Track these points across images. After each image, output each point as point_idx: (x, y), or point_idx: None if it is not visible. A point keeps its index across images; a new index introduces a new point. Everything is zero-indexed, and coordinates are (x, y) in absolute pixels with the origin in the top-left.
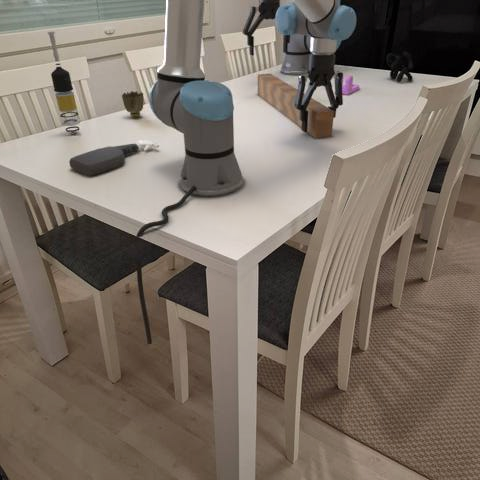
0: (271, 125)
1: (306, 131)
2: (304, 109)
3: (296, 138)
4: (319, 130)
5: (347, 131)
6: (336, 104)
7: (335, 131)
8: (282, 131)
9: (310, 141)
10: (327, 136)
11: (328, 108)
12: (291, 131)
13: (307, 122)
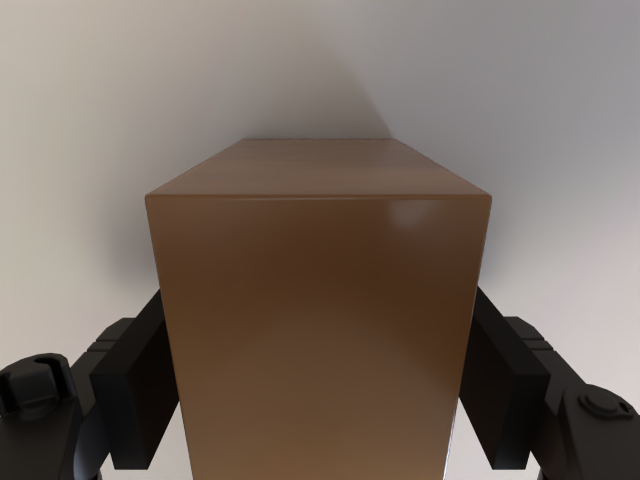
0: (537, 474)
1: None
2: (602, 400)
3: (540, 194)
4: (375, 147)
5: (64, 216)
6: (7, 427)
7: None
8: None
9: (476, 81)
10: (281, 140)
11: (190, 358)
12: None
13: None
